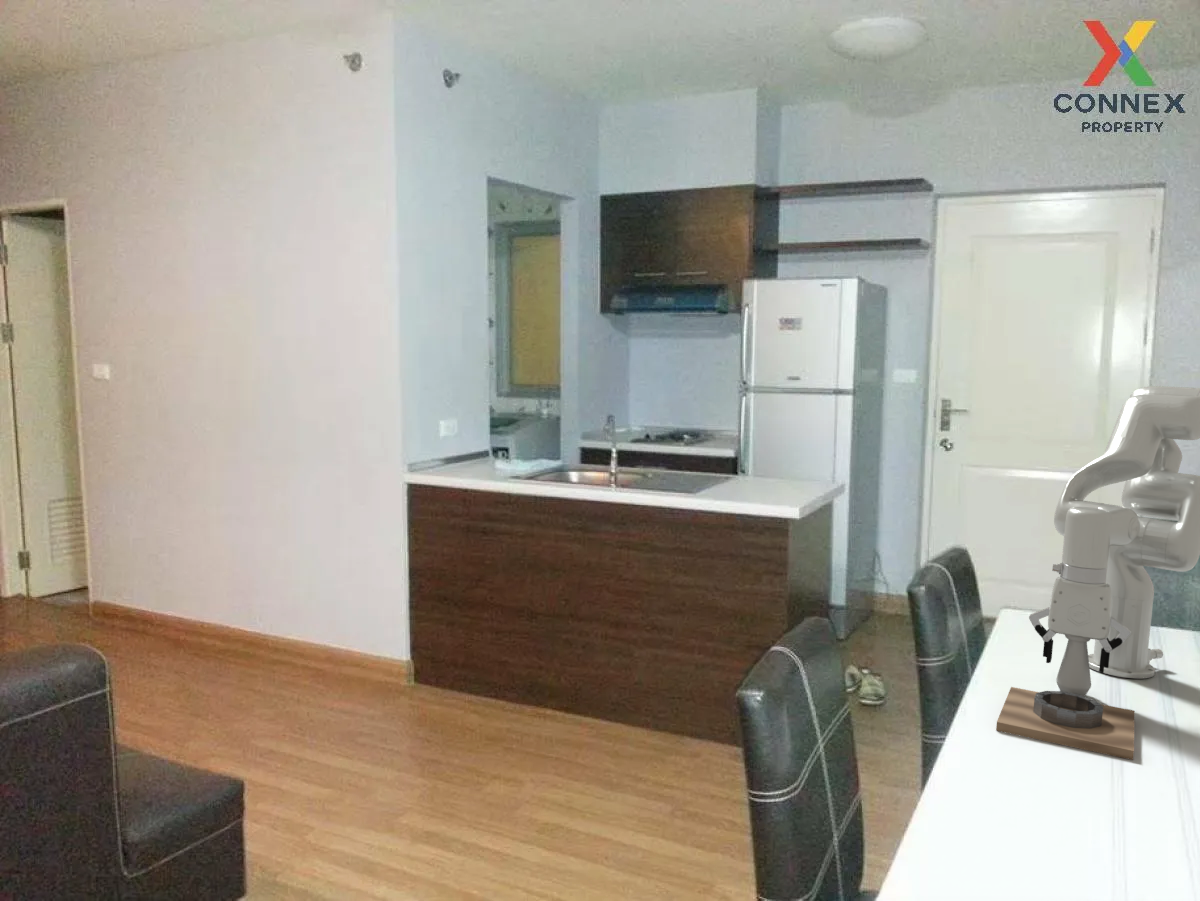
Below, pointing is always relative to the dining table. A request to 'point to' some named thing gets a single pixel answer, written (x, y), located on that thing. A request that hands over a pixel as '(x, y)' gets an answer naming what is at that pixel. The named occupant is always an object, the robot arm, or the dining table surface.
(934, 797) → the dining table surface
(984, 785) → the dining table surface
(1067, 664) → the salt shaker
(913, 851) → the dining table surface
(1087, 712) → the collar
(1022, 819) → the dining table surface
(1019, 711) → the board
